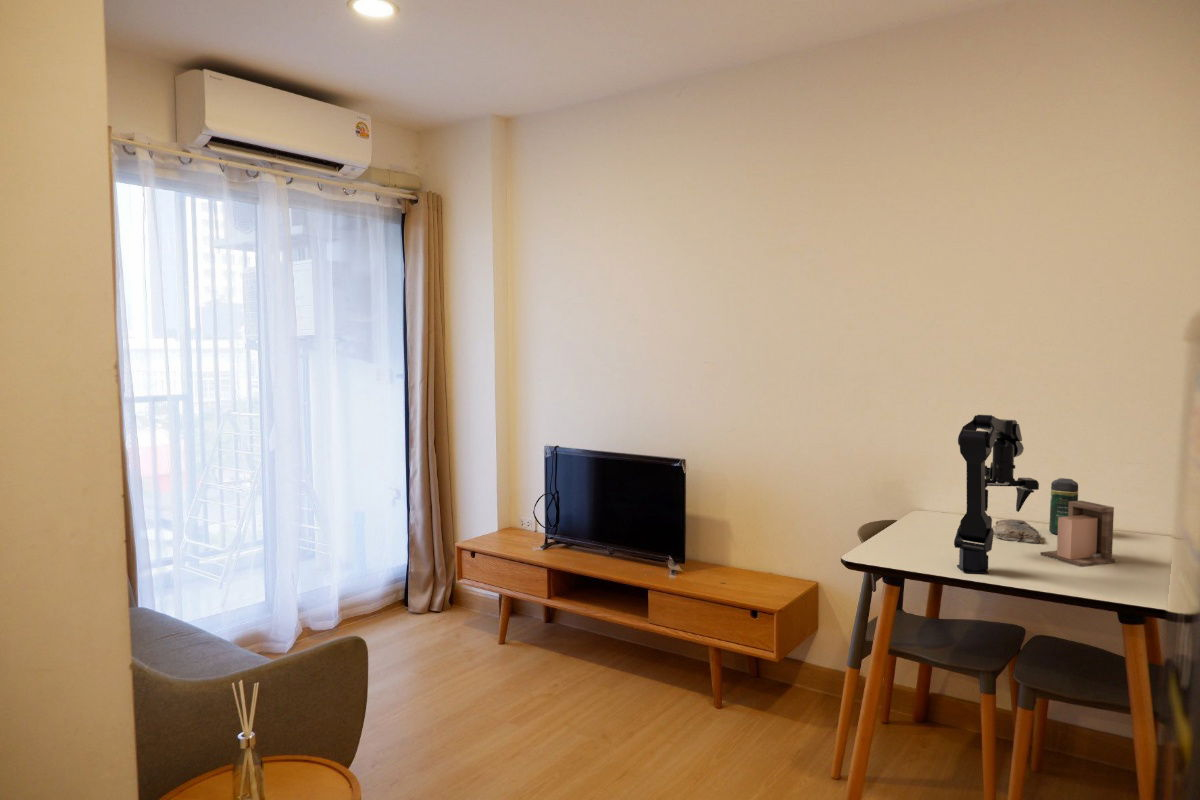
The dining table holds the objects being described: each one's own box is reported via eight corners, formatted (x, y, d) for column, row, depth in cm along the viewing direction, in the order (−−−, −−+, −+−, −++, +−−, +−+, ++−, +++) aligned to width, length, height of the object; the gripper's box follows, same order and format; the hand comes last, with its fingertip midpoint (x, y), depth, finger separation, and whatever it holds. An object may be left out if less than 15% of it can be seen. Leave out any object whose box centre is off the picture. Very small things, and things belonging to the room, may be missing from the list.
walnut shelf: (1079, 566, 214) (1081, 511, 213) (1040, 554, 227) (1042, 502, 226) (1115, 562, 219) (1118, 508, 218) (1075, 550, 231) (1077, 499, 230)
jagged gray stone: (992, 527, 263) (990, 539, 246) (993, 514, 263) (991, 524, 245) (1039, 533, 256) (1040, 545, 239) (1039, 519, 256) (1041, 530, 239)
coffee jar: (1075, 537, 247) (1077, 482, 246) (1048, 534, 252) (1049, 479, 251) (1077, 532, 255) (1079, 478, 254) (1050, 528, 260) (1052, 475, 259)
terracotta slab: (1070, 559, 219) (1071, 520, 218) (1056, 555, 223) (1058, 517, 222) (1096, 556, 222) (1097, 518, 221) (1082, 552, 226) (1083, 514, 225)
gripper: (1024, 457, 234) (1022, 506, 235) (961, 456, 236) (960, 505, 237) (1040, 462, 223) (1038, 514, 224) (974, 461, 225) (972, 512, 226)
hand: (1001, 511), depth 228 cm, fingers open, 9 cm apart
